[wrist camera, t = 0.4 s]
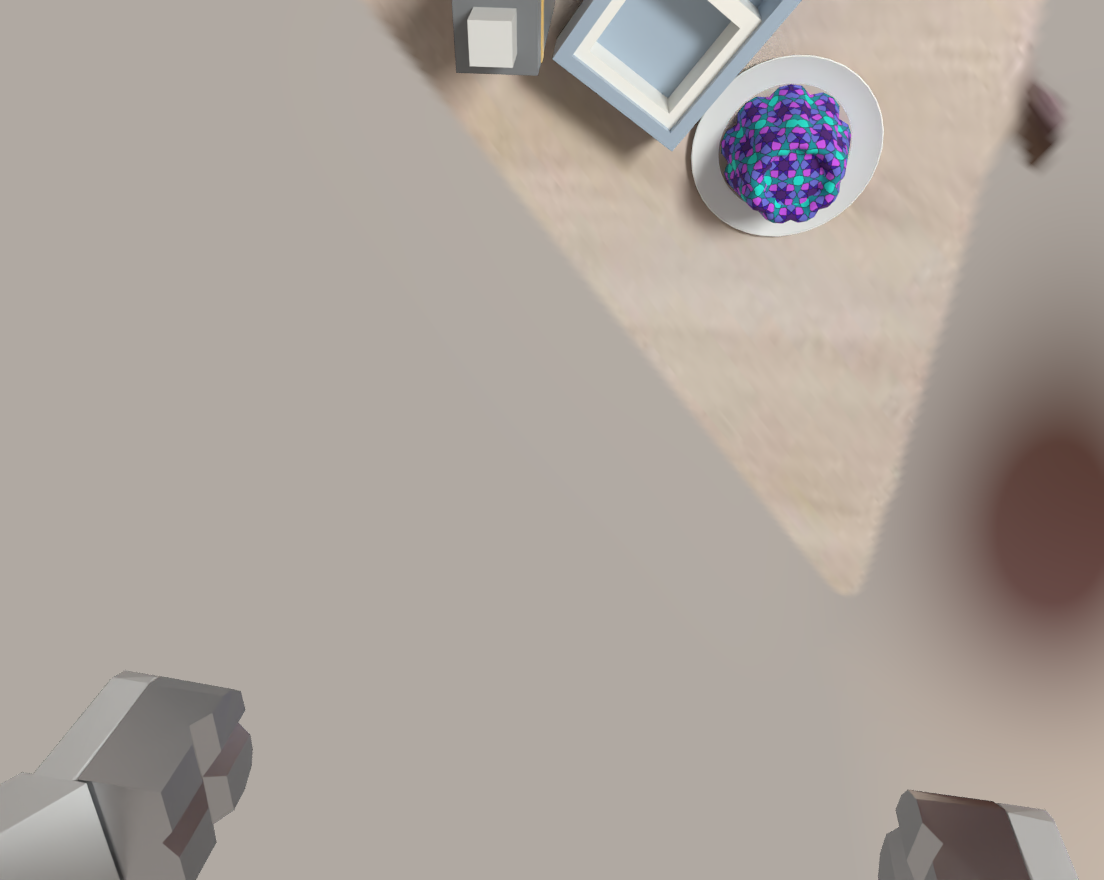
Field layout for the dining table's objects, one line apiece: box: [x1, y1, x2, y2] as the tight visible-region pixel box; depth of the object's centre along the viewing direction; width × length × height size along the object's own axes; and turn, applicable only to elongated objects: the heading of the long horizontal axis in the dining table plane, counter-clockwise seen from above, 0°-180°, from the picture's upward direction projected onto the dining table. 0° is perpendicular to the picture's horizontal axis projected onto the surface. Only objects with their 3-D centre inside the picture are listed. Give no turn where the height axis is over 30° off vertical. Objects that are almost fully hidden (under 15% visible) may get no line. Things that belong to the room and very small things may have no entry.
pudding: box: [691, 55, 884, 237], centre depth 54 cm, size 12×12×5 cm
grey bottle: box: [452, 0, 555, 76], centre depth 44 cm, size 4×4×14 cm
